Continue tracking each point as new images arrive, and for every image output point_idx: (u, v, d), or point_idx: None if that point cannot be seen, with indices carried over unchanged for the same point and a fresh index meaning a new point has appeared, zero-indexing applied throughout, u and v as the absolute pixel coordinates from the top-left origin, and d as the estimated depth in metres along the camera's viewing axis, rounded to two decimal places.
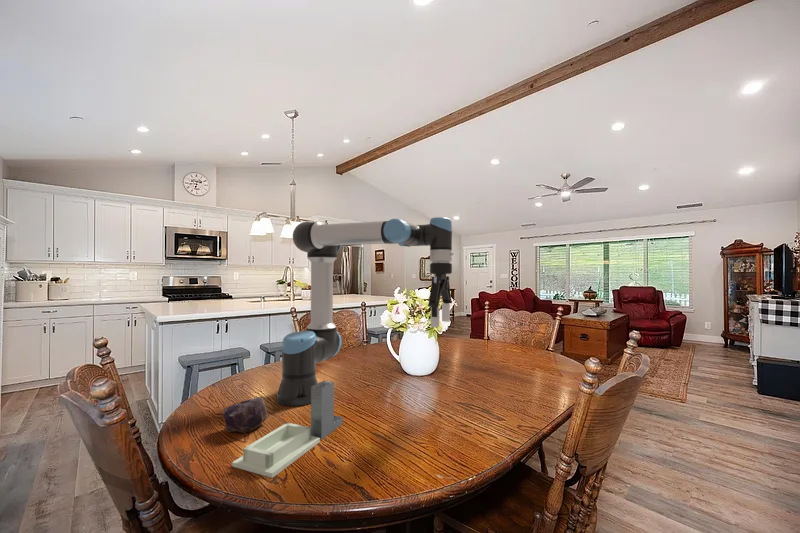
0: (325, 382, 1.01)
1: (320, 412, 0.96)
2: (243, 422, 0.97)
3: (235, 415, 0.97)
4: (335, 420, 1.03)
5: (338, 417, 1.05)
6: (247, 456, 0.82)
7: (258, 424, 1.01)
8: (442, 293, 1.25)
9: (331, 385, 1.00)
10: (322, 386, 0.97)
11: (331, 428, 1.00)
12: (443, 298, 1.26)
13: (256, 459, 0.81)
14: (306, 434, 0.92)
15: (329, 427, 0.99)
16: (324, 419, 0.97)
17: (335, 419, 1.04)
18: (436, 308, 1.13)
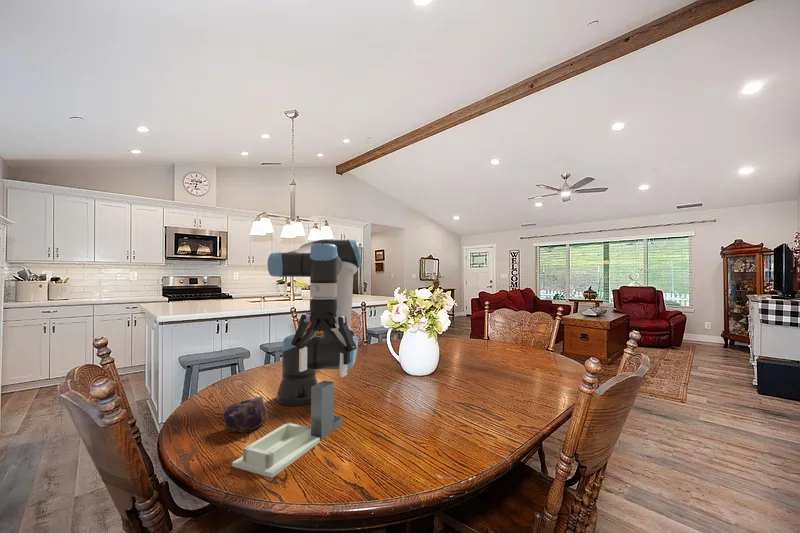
0: (325, 382, 1.01)
1: (320, 412, 0.96)
2: (243, 422, 0.97)
3: (235, 415, 0.97)
4: (335, 420, 1.03)
5: (338, 417, 1.05)
6: (247, 456, 0.82)
7: (258, 424, 1.01)
8: None
9: (331, 385, 1.00)
10: (322, 386, 0.97)
11: (331, 428, 1.00)
12: None
13: (256, 459, 0.81)
14: (306, 434, 0.92)
15: (329, 427, 0.99)
16: (324, 419, 0.97)
17: (335, 419, 1.04)
18: (299, 349, 1.01)
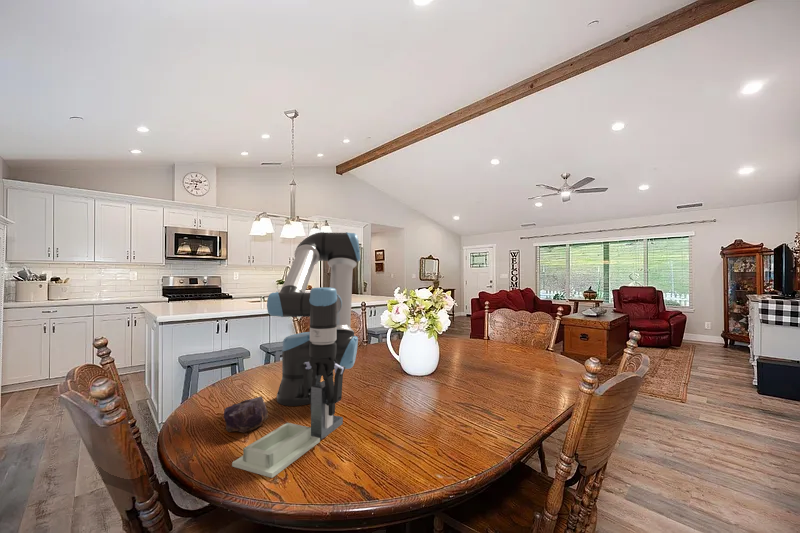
0: None
1: (320, 412, 0.96)
2: (243, 422, 0.97)
3: (235, 415, 0.97)
4: (335, 420, 1.03)
5: (338, 417, 1.05)
6: (247, 456, 0.82)
7: (258, 424, 1.01)
8: None
9: None
10: (322, 386, 0.97)
11: (331, 428, 1.00)
12: None
13: (256, 459, 0.81)
14: (306, 434, 0.92)
15: (329, 427, 0.99)
16: (324, 419, 0.97)
17: (335, 419, 1.04)
18: None
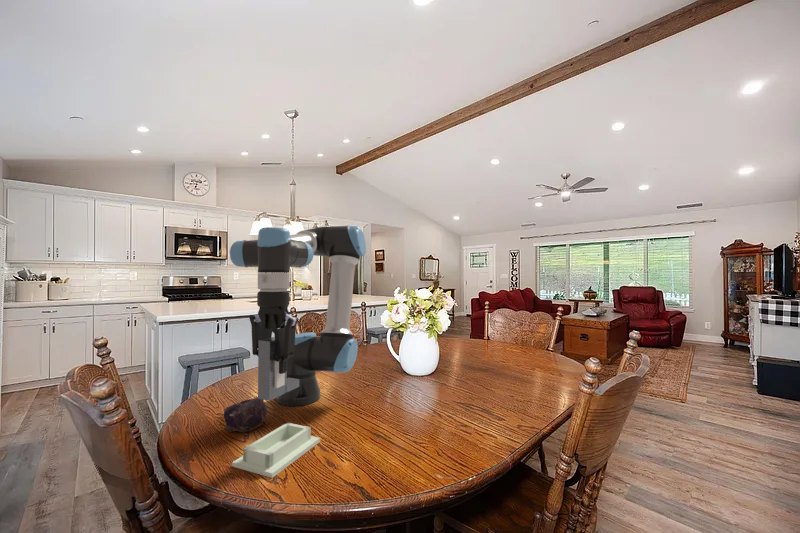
0: None
1: (268, 369, 0.83)
2: (243, 422, 0.97)
3: (235, 415, 0.97)
4: (289, 382, 0.90)
5: (294, 379, 0.93)
6: (247, 456, 0.82)
7: (258, 424, 1.01)
8: None
9: None
10: (271, 340, 0.85)
11: (283, 389, 0.87)
12: None
13: (256, 459, 0.81)
14: (306, 434, 0.92)
15: (280, 388, 0.86)
16: (274, 377, 0.84)
17: (290, 381, 0.91)
18: None
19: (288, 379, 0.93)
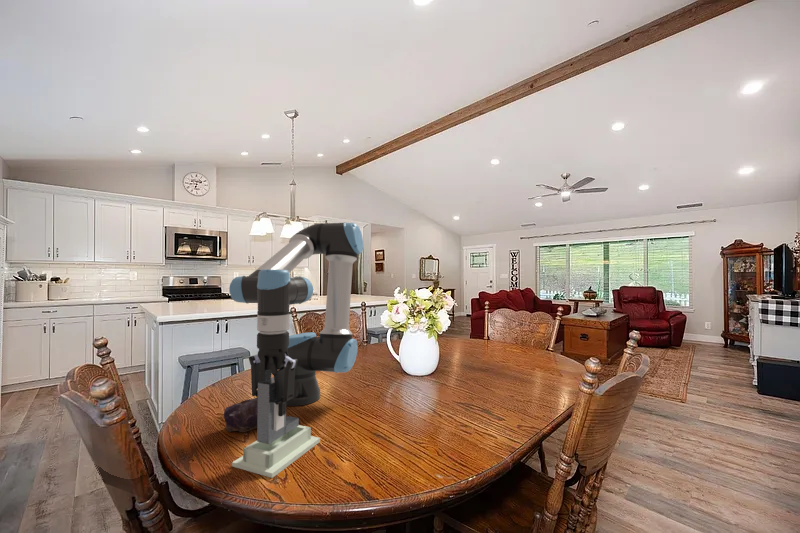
0: None
1: (267, 412, 0.83)
2: (243, 422, 0.97)
3: (235, 415, 0.97)
4: (289, 421, 0.90)
5: (293, 418, 0.92)
6: (247, 456, 0.82)
7: None
8: None
9: None
10: (271, 382, 0.84)
11: (282, 431, 0.87)
12: None
13: (256, 459, 0.81)
14: (306, 434, 0.92)
15: (280, 429, 0.86)
16: (273, 420, 0.84)
17: (289, 420, 0.91)
18: None
19: (287, 418, 0.92)
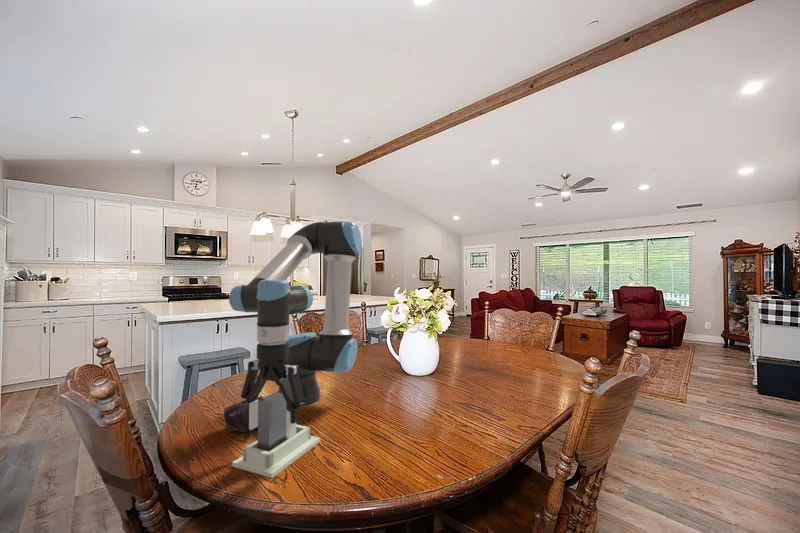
0: (276, 394, 0.88)
1: (268, 429, 0.83)
2: (243, 422, 0.97)
3: (235, 415, 0.97)
4: None
5: None
6: (247, 456, 0.82)
7: None
8: None
9: (283, 397, 0.87)
10: (271, 399, 0.84)
11: None
12: None
13: (256, 459, 0.81)
14: (306, 434, 0.92)
15: None
16: (274, 437, 0.84)
17: None
18: None
19: None
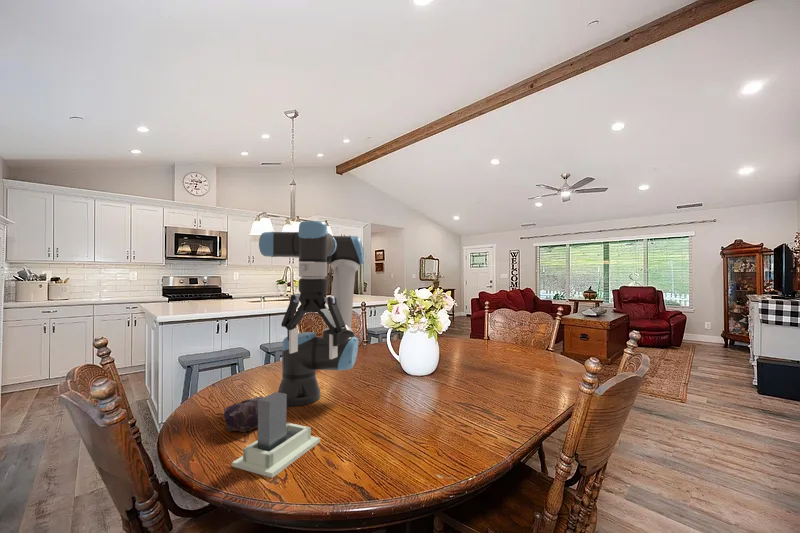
0: (276, 394, 0.88)
1: (268, 429, 0.83)
2: (243, 421, 0.97)
3: (235, 415, 0.97)
4: (289, 437, 0.90)
5: (293, 433, 0.93)
6: (247, 456, 0.82)
7: None
8: None
9: (283, 397, 0.87)
10: (271, 399, 0.84)
11: None
12: None
13: (256, 459, 0.81)
14: (306, 434, 0.92)
15: None
16: (274, 437, 0.84)
17: (289, 436, 0.91)
18: (289, 330, 0.98)
19: (287, 433, 0.92)
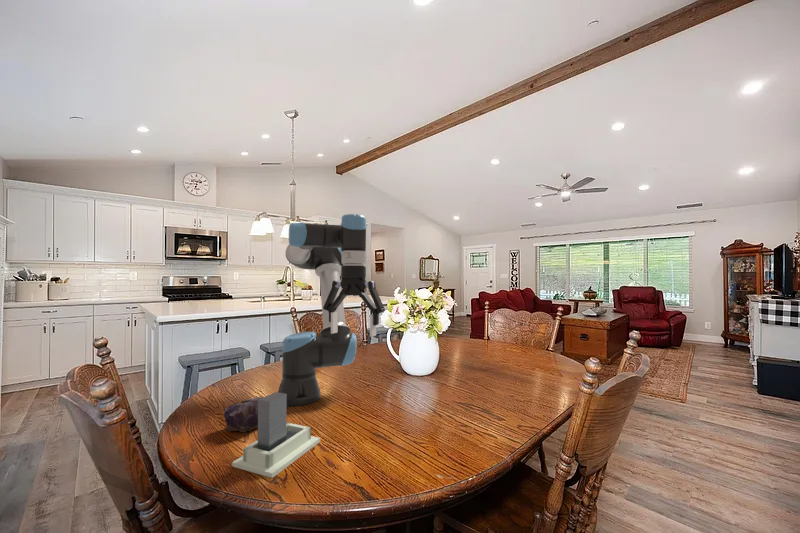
0: (276, 394, 0.88)
1: (268, 429, 0.83)
2: (243, 421, 0.97)
3: (235, 415, 0.97)
4: (289, 437, 0.90)
5: (293, 433, 0.93)
6: (247, 456, 0.82)
7: None
8: None
9: (283, 397, 0.87)
10: (271, 399, 0.84)
11: None
12: None
13: (256, 459, 0.81)
14: (306, 434, 0.92)
15: None
16: (274, 437, 0.84)
17: (289, 436, 0.91)
18: (330, 313, 1.09)
19: (287, 433, 0.92)
